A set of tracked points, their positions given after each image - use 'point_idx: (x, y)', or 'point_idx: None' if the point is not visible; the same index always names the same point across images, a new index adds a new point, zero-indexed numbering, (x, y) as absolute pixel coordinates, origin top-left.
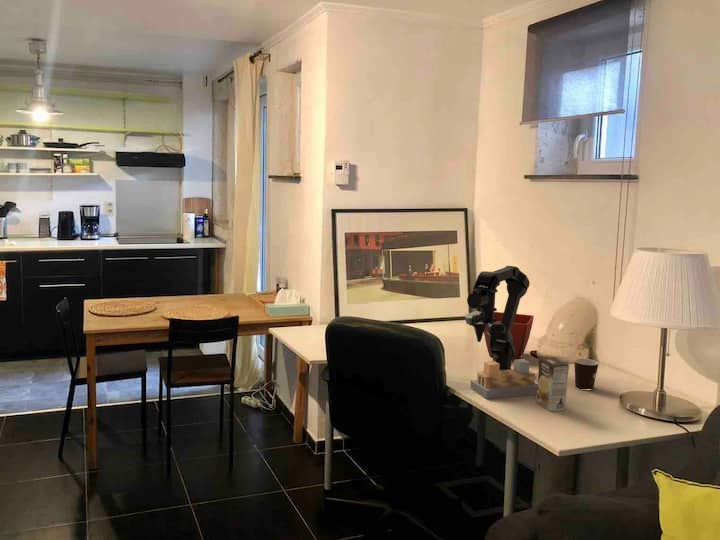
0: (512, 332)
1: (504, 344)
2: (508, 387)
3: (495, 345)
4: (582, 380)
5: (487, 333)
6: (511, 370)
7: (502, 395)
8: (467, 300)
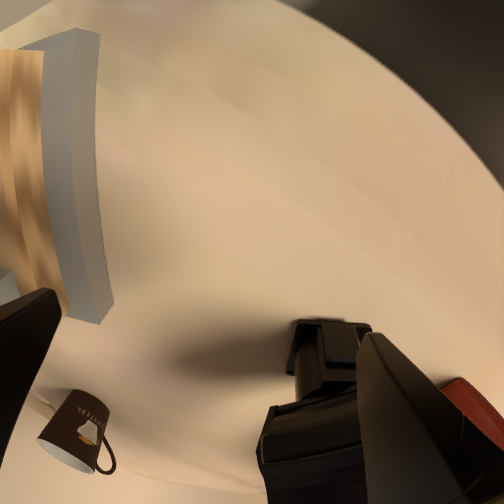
0: None
1: (270, 456)
2: None
3: (335, 425)
4: (60, 407)
5: (496, 438)
6: (7, 258)
7: None
8: None
